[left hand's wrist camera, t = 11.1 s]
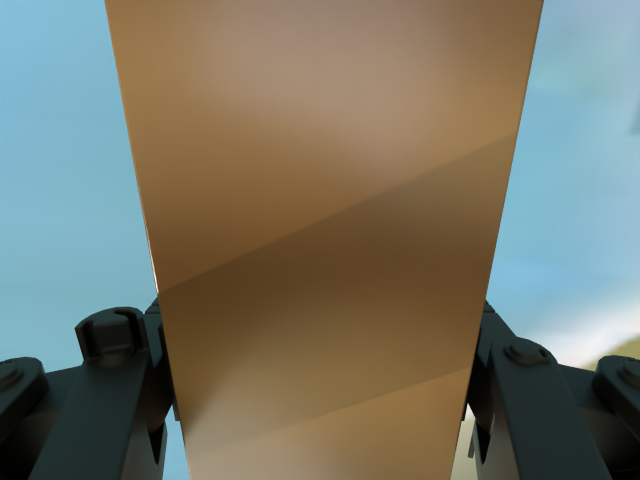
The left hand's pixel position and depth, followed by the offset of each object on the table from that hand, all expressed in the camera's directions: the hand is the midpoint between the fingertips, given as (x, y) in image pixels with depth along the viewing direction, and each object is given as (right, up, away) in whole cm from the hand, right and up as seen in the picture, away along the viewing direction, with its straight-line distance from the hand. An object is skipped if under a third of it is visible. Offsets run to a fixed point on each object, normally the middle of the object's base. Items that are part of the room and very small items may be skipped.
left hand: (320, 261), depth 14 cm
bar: (0, +23, -8) cm, 25 cm away
